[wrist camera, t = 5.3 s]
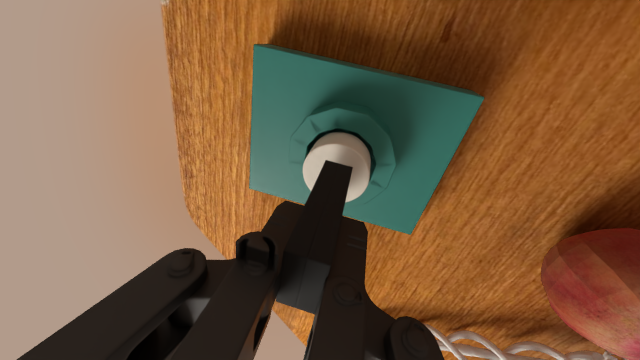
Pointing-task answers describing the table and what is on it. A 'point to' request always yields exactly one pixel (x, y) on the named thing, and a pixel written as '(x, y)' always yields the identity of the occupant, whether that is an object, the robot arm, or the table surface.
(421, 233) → the table surface
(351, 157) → the white push button
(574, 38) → the table surface
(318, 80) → the button block
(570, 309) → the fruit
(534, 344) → the sculpture
